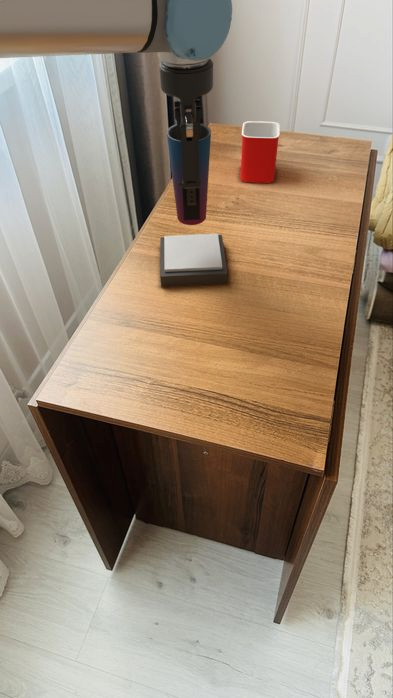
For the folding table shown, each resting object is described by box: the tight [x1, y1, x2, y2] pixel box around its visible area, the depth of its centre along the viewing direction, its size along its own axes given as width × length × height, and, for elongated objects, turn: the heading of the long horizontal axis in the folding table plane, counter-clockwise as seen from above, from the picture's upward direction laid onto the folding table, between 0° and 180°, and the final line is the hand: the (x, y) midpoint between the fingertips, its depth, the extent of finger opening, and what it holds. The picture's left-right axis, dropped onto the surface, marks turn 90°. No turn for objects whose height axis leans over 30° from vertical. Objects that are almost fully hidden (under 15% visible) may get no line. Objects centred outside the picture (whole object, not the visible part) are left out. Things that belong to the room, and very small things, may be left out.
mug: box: [239, 120, 281, 184], centre depth 115 cm, size 12×8×11 cm
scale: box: [159, 233, 228, 288], centre depth 94 cm, size 12×12×3 cm
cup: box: [166, 122, 212, 226], centre depth 81 cm, size 7×7×15 cm
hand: (191, 207), depth 86 cm, fingers closed on cup, 6 cm apart
